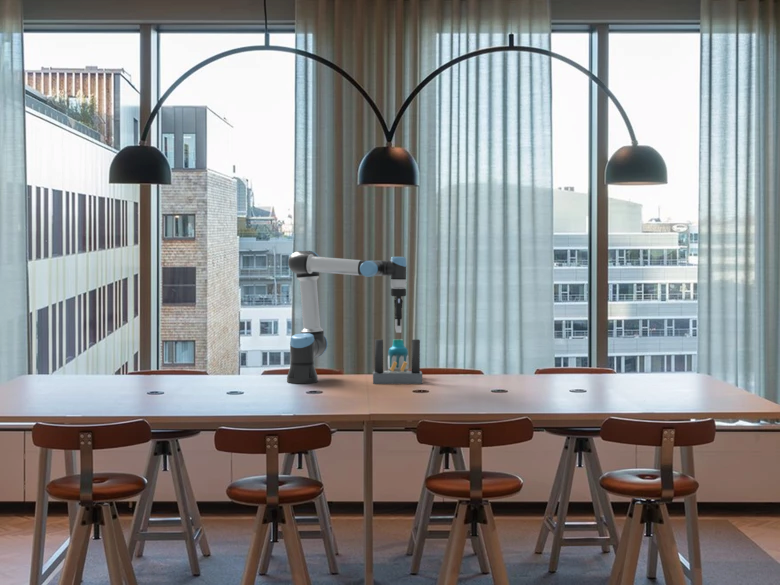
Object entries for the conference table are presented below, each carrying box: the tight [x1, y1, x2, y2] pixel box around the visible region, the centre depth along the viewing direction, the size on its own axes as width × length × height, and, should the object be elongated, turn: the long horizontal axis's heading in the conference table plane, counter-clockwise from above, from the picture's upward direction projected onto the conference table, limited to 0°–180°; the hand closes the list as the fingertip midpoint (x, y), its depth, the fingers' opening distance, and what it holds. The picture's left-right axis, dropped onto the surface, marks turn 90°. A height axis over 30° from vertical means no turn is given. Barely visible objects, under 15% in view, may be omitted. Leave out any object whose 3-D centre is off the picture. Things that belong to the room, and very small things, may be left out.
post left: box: [374, 339, 384, 373], centre depth 467 cm, size 4×4×16 cm
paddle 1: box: [390, 361, 397, 371], centre depth 467 cm, size 2×3×4 cm, turn 2°
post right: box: [411, 338, 421, 373], centre depth 467 cm, size 4×4×16 cm
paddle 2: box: [400, 361, 407, 371], centre depth 467 cm, size 2×3×4 cm, turn 2°
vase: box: [387, 338, 409, 371], centre depth 487 cm, size 11×11×19 cm
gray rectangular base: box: [372, 370, 423, 385], centre depth 467 cm, size 24×10×5 cm, turn 91°
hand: (398, 331), depth 466 cm, fingers open, 13 cm apart
